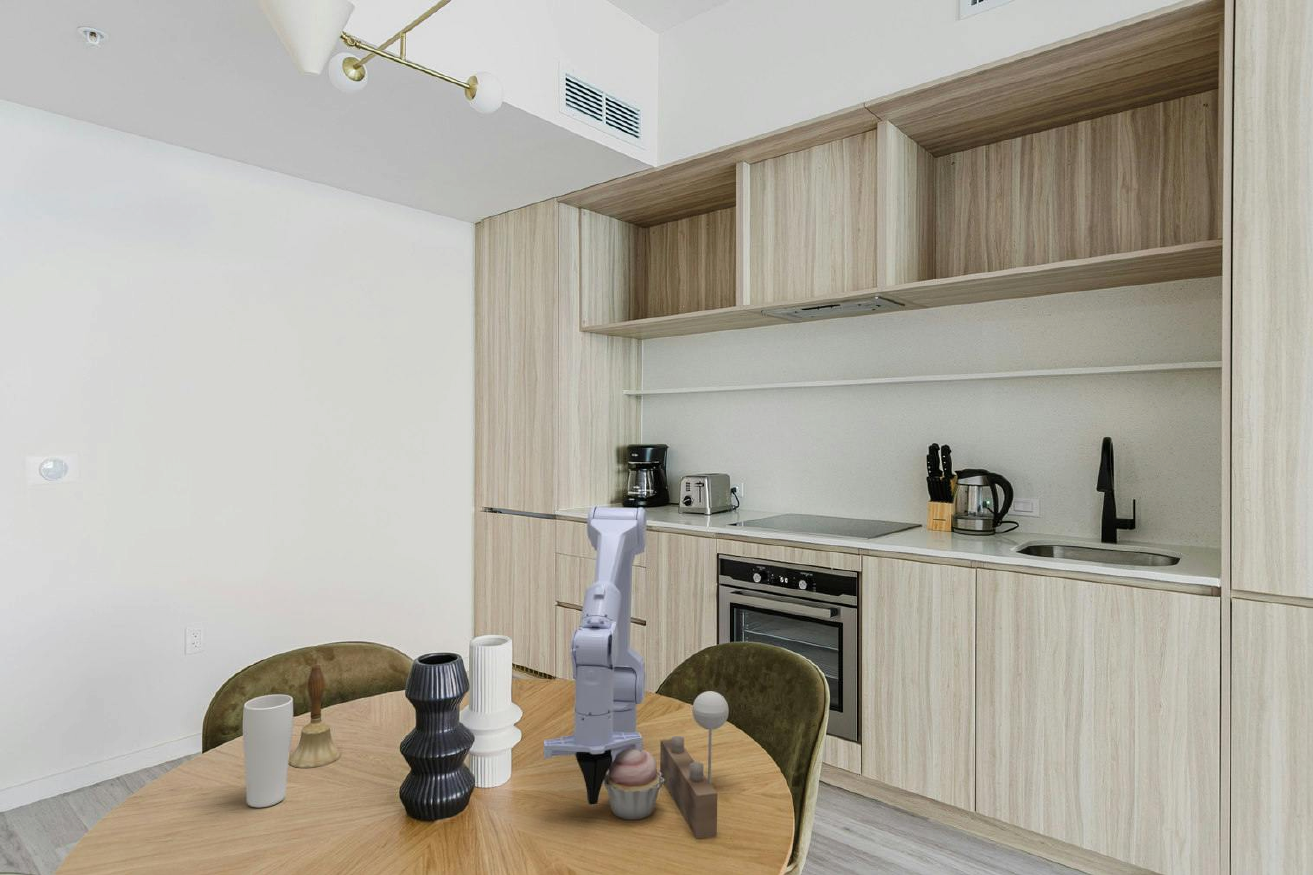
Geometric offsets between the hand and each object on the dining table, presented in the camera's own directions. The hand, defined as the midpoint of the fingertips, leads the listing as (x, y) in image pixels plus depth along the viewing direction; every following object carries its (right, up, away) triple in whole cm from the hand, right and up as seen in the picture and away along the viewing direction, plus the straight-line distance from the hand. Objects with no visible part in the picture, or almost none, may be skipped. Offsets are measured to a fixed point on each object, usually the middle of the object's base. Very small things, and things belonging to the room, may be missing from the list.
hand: (592, 801), depth 108 cm
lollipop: (+18, -3, +10) cm, 21 cm away
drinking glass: (-50, -1, +3) cm, 50 cm away
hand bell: (-50, -2, +18) cm, 53 cm away
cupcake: (+6, -2, +2) cm, 6 cm away
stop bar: (+14, -2, +4) cm, 15 cm away
